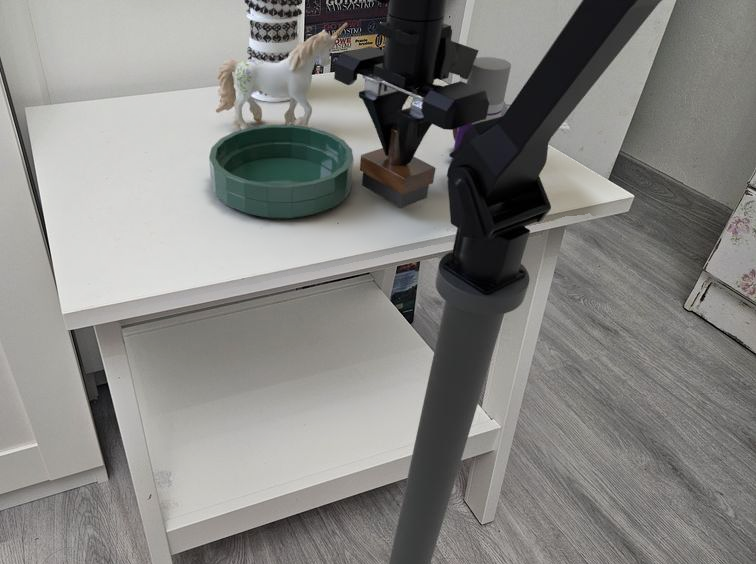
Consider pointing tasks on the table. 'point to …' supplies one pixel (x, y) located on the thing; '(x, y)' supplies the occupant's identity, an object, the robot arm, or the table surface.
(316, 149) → the wash bowl
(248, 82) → the unicorn figurine
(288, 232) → the table surface
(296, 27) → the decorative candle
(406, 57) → the robot arm
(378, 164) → the scrub brush
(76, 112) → the table surface
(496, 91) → the container
